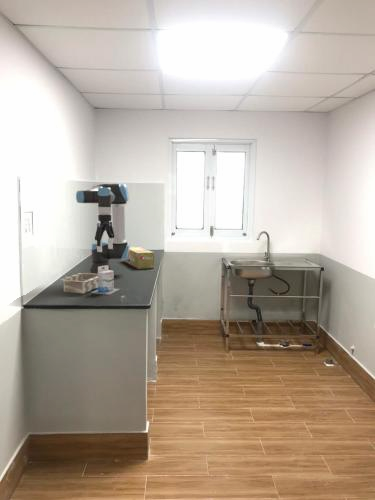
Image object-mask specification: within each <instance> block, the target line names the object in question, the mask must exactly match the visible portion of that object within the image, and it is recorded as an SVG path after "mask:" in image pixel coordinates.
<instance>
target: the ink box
mask: <svg viewBox="0 0 375 500" xmlns="http://www.w3.org/2000/svg"><path fill="white" fill-rule="evenodd" d="M109 266H110V265H109ZM109 266H108V265H105V266H99V267H98V288H97V290H98V291H100V292H106V291H111V290H114V289H115V287H114V285H115V276H114V273H115V271H114V270H109ZM103 267H104V268H105V269H102V268H103Z"/></svg>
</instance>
